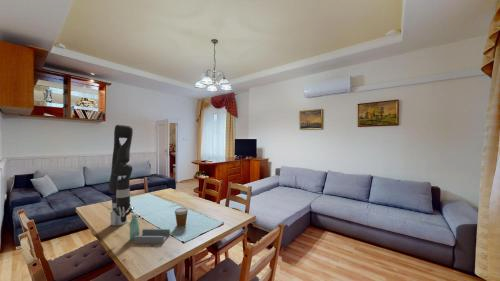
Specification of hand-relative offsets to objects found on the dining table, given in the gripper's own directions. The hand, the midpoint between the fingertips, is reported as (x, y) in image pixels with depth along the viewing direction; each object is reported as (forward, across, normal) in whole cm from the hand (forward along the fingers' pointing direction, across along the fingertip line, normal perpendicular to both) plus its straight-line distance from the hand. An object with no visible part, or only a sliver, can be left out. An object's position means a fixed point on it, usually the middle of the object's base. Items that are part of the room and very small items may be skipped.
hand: (123, 221), depth 128 cm
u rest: (+11, +19, 0) cm, 22 cm away
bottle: (+11, +7, 0) cm, 13 cm away
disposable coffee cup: (+11, +31, +19) cm, 38 cm away
